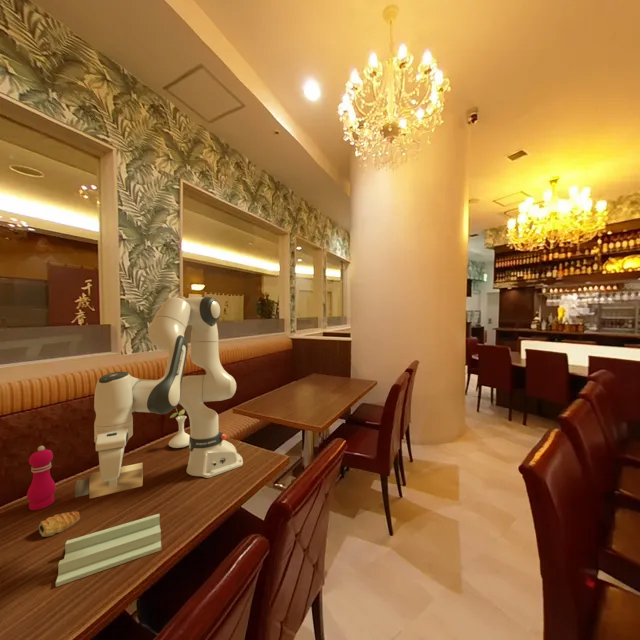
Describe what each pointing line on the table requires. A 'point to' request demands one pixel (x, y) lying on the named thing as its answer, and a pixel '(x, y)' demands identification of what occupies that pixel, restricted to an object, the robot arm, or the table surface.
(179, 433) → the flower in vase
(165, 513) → the table surface
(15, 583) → the table surface
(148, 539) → the grooved moulding strip
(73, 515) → the pastry
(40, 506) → the pepper mill
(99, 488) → the grey-capped wooden block
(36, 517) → the table surface
